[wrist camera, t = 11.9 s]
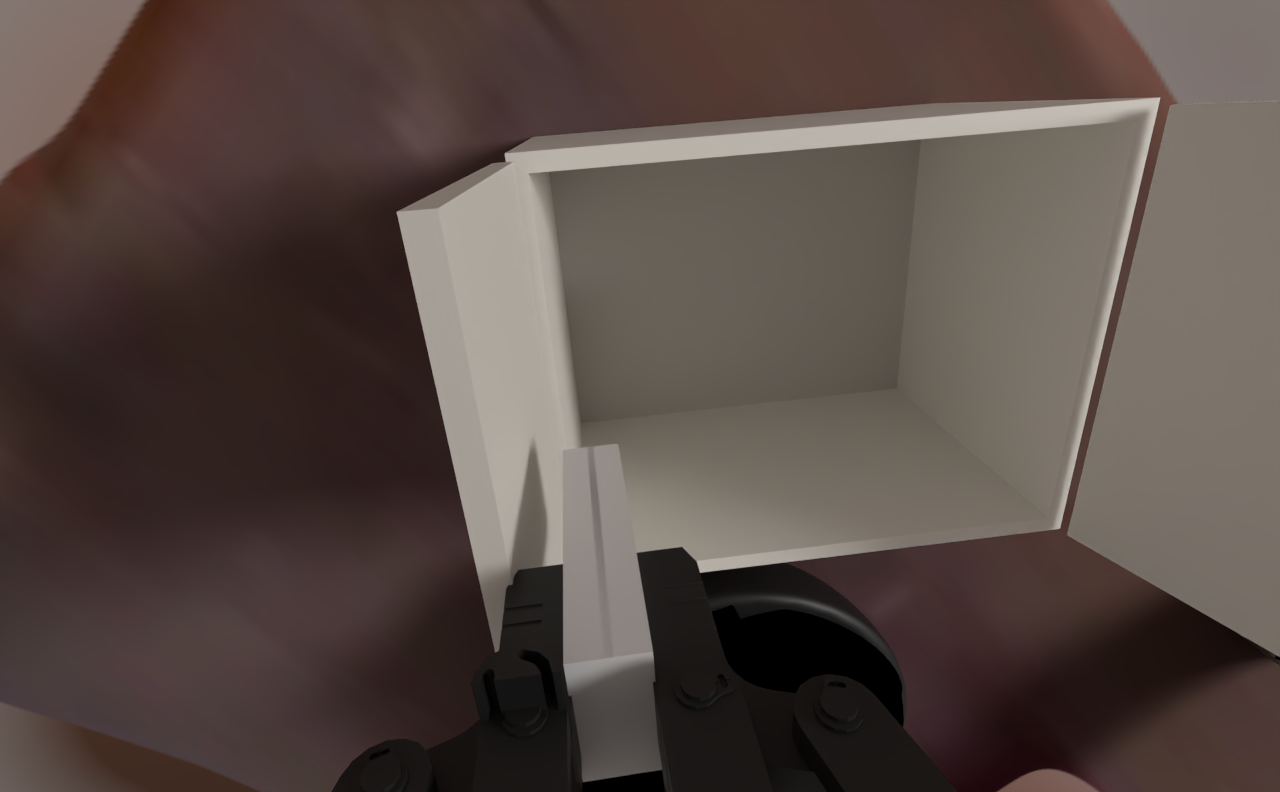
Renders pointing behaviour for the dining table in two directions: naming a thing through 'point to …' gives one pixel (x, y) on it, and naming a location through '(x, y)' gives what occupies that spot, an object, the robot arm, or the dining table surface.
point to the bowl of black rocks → (787, 643)
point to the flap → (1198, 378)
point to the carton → (833, 316)
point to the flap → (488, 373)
